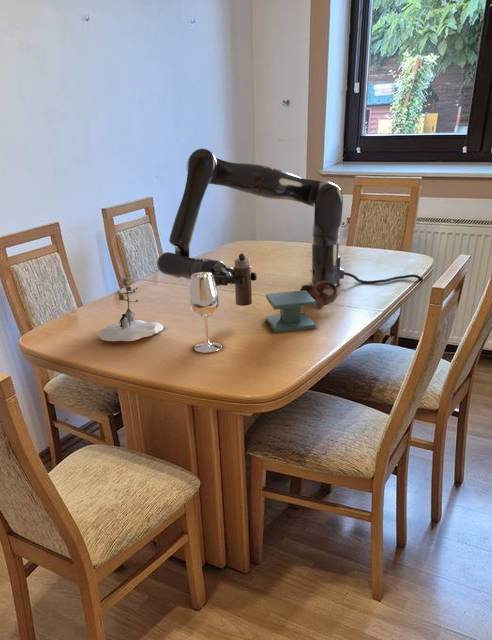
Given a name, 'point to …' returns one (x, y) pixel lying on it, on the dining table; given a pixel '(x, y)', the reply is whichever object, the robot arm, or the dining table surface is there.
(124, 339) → the figurine
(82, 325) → the dining table surface
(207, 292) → the wineglass
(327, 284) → the brown clay hollow piece
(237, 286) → the pepper mill
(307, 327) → the stand
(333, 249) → the robot arm
